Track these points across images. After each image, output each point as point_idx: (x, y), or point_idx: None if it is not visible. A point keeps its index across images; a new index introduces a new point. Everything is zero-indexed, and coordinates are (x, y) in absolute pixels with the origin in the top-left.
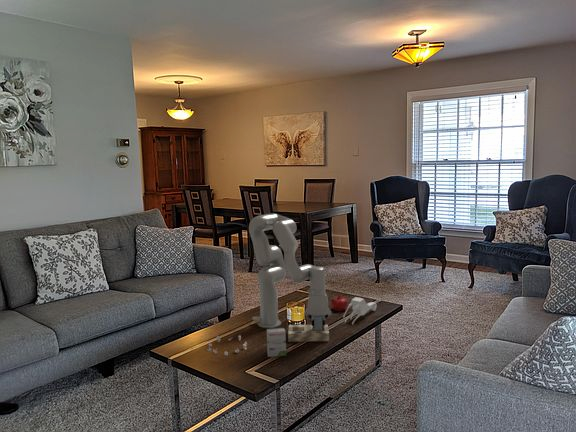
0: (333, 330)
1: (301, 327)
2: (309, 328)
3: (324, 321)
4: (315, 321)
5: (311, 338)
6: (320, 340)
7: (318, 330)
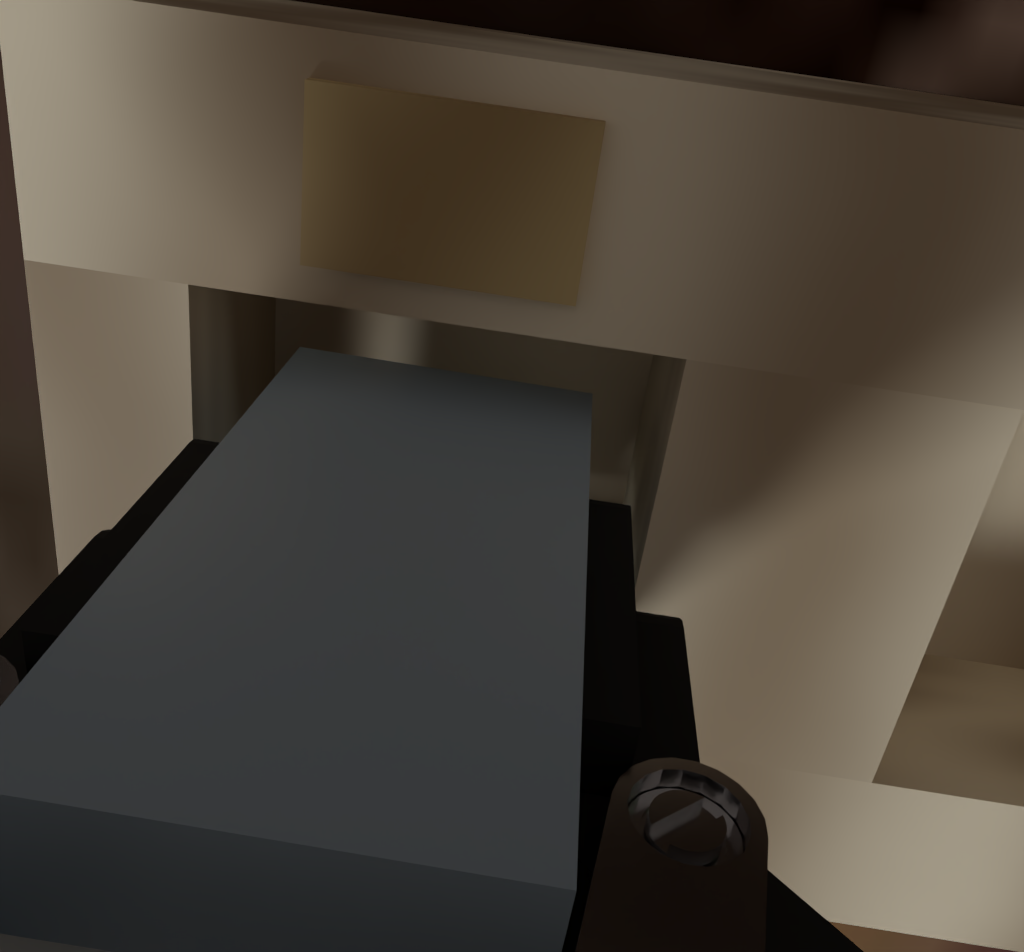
0: None
1: (968, 783)
2: (736, 630)
3: (16, 641)
4: (511, 652)
5: (771, 74)
6: (442, 22)
7: (431, 403)
